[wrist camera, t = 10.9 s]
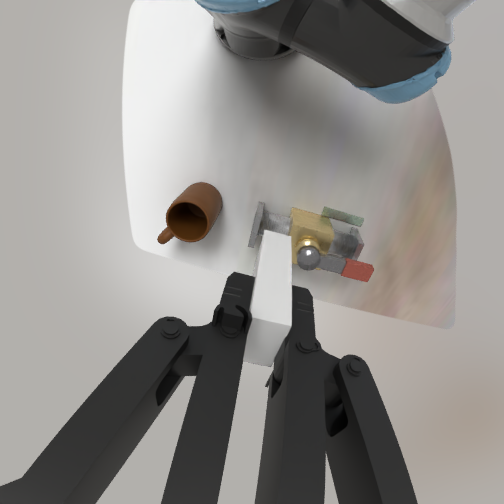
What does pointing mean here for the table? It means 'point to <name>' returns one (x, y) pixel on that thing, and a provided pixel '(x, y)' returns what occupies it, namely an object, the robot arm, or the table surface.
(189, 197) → the mug
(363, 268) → the lever
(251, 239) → the valve pipe
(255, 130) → the table surface
